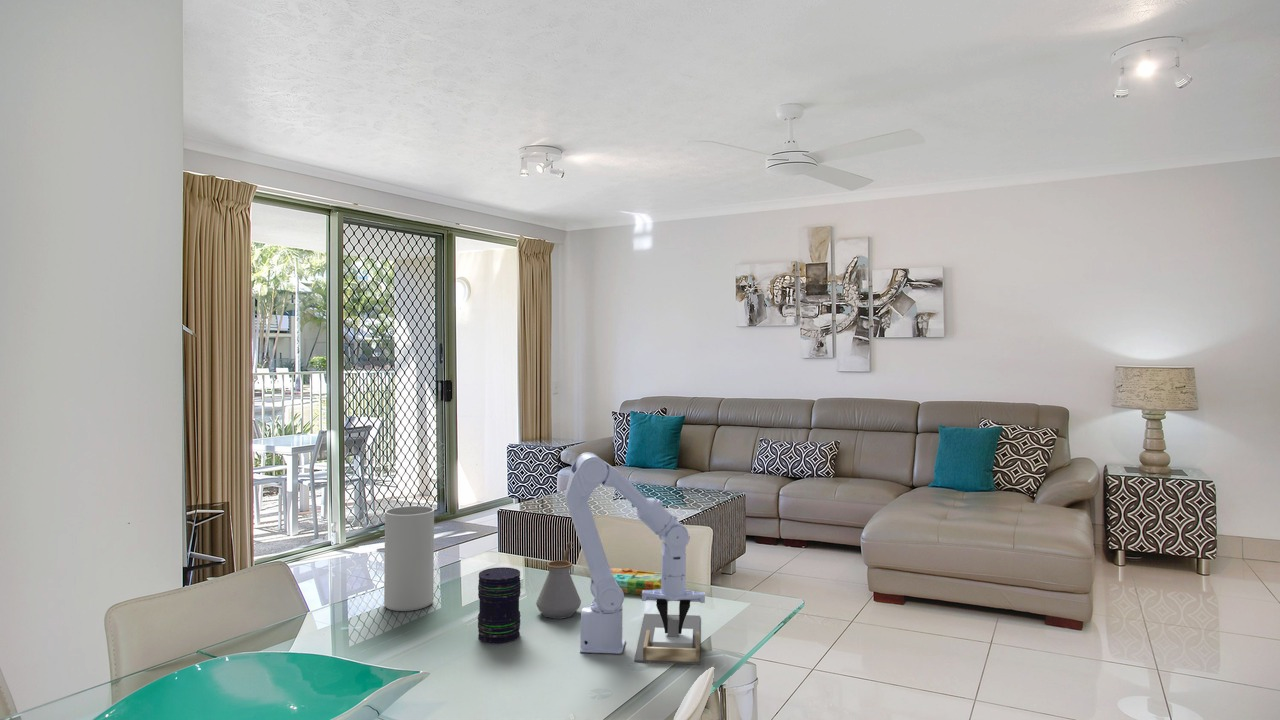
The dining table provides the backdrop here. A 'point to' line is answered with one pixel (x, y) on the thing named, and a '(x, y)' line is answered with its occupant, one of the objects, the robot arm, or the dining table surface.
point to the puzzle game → (636, 580)
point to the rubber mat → (656, 622)
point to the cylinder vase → (409, 558)
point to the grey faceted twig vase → (559, 590)
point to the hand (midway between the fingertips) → (673, 632)
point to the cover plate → (671, 640)
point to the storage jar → (499, 605)
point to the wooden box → (671, 651)
